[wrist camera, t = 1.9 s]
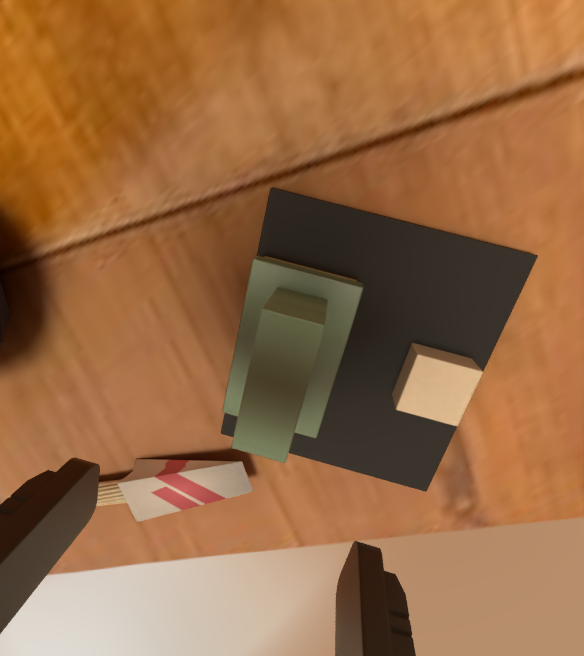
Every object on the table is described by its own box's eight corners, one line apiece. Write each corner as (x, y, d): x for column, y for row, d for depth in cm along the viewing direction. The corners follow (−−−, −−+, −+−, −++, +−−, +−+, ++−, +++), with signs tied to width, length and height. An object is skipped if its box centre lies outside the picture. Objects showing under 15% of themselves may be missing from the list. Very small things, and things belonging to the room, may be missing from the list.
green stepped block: (262, 251, 23) (230, 273, 16) (361, 277, 23) (370, 310, 16) (233, 392, 27) (196, 457, 20) (318, 416, 26) (311, 490, 20)
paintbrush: (250, 512, 27) (35, 530, 32) (259, 485, 29) (59, 504, 34) (234, 470, 26) (14, 494, 31) (245, 445, 28) (40, 471, 33)
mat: (272, 187, 22) (270, 187, 22) (533, 254, 22) (538, 255, 21) (222, 429, 29) (220, 433, 28) (424, 486, 28) (426, 491, 27)
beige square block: (411, 342, 24) (417, 354, 22) (472, 358, 24) (483, 371, 22) (391, 394, 25) (395, 410, 23) (448, 410, 25) (457, 427, 23)
